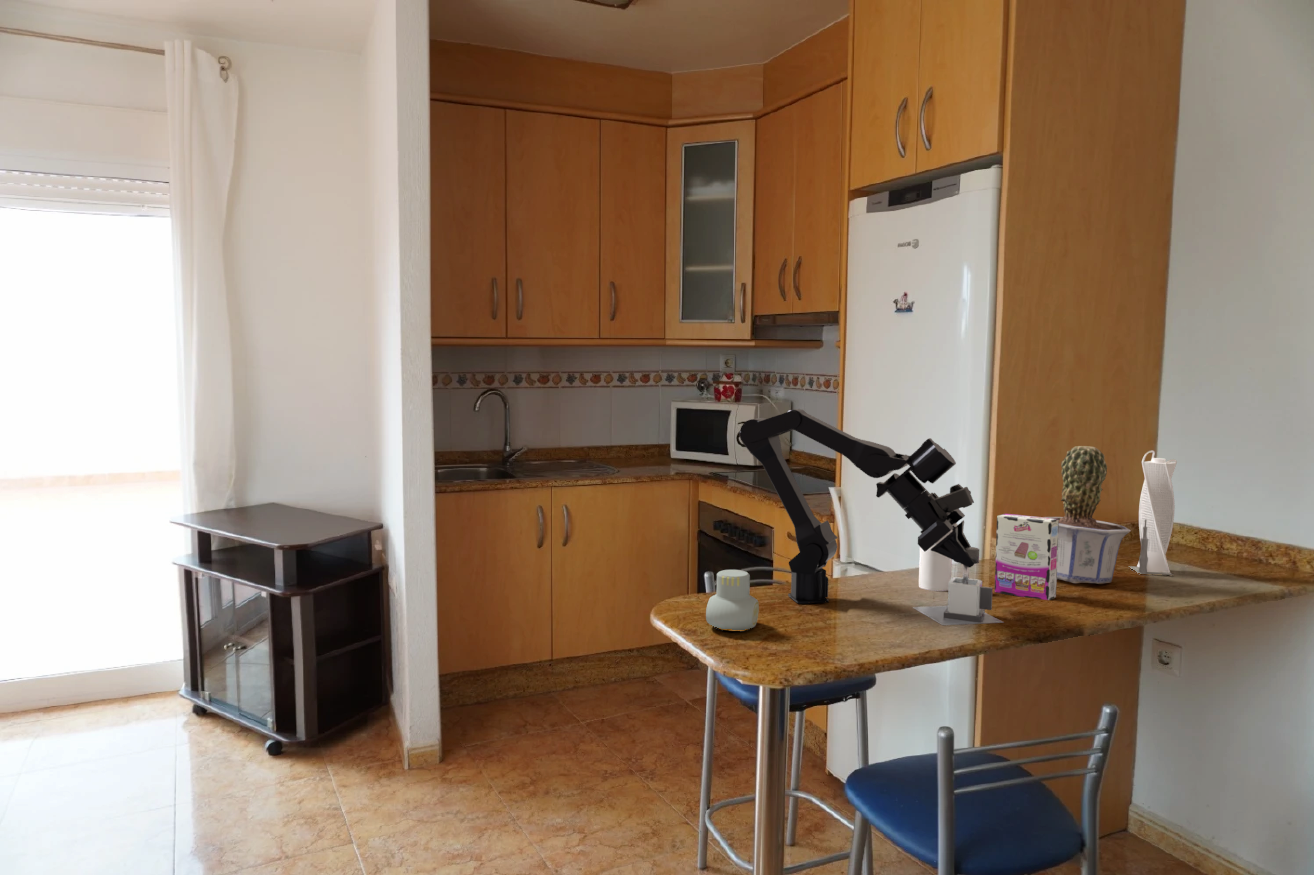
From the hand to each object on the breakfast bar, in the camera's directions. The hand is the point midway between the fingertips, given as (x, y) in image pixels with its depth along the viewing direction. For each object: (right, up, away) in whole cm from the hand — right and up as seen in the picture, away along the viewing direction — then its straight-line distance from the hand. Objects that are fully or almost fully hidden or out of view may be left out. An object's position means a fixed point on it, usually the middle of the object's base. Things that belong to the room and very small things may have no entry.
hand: (974, 563), depth 162 cm
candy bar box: (+18, -10, +20) cm, 28 cm away
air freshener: (-45, -11, -4) cm, 47 cm away
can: (0, -9, +23) cm, 25 cm away
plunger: (-1, -5, +1) cm, 5 cm away
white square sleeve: (-1, -10, +1) cm, 10 cm away
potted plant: (+36, -9, +33) cm, 50 cm away
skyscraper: (+56, -8, +42) cm, 71 cm away
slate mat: (-2, -11, +2) cm, 11 cm away
